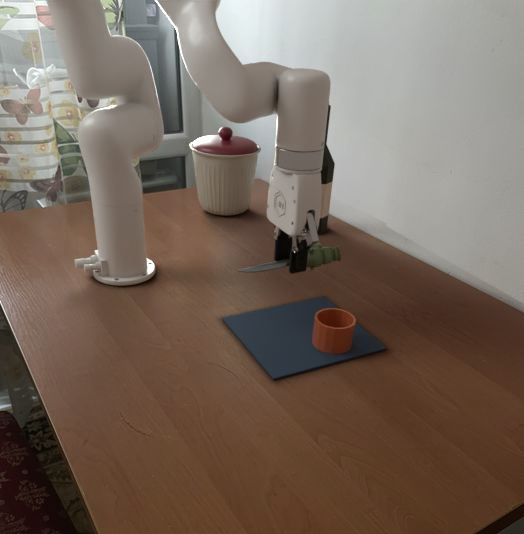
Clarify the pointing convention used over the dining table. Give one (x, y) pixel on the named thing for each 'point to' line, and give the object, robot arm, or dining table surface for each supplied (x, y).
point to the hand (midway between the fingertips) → (289, 264)
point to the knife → (314, 259)
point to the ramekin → (333, 330)
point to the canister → (225, 171)
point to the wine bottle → (326, 182)
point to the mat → (293, 338)
